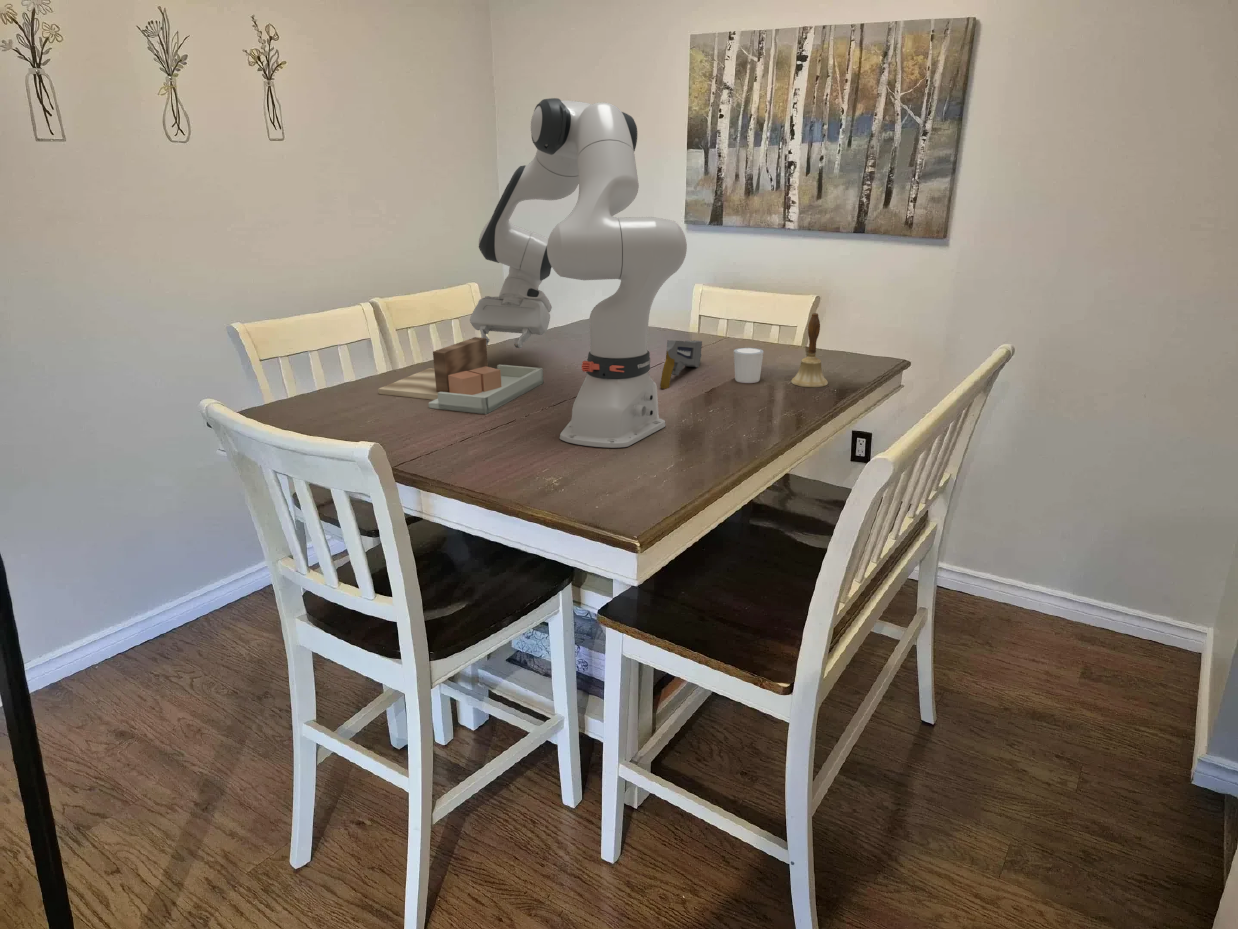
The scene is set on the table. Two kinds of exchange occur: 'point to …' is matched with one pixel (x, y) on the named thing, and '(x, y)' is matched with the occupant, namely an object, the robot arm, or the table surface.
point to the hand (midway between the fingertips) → (500, 345)
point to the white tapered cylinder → (748, 364)
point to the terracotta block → (465, 383)
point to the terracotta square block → (489, 377)
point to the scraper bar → (458, 360)
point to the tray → (493, 391)
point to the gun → (680, 358)
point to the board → (414, 386)
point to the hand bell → (811, 360)
